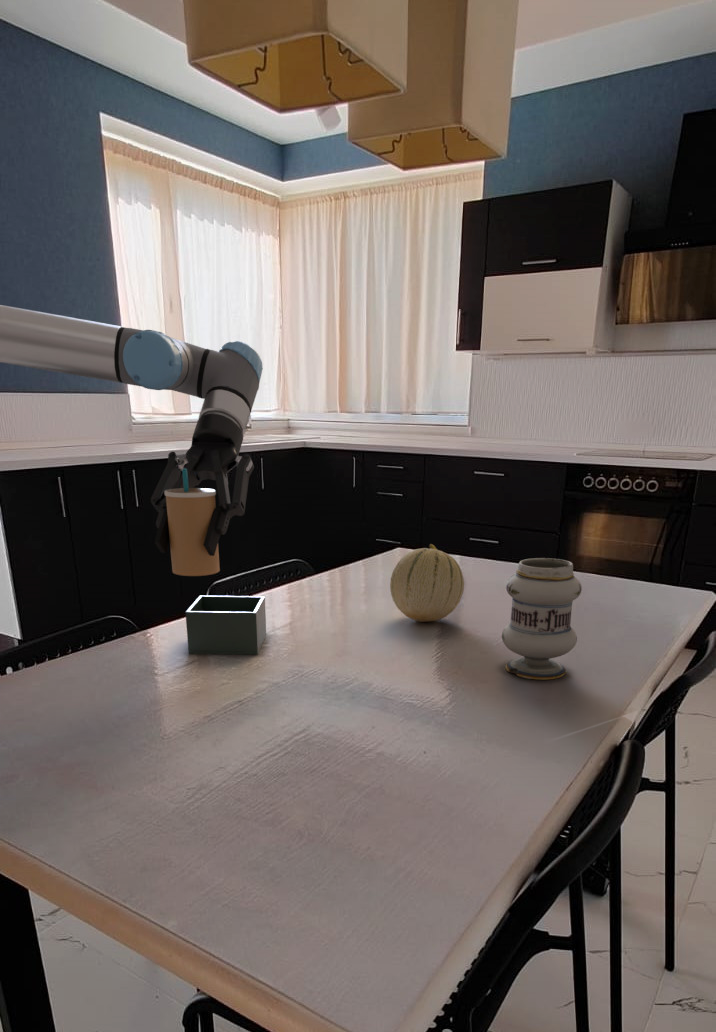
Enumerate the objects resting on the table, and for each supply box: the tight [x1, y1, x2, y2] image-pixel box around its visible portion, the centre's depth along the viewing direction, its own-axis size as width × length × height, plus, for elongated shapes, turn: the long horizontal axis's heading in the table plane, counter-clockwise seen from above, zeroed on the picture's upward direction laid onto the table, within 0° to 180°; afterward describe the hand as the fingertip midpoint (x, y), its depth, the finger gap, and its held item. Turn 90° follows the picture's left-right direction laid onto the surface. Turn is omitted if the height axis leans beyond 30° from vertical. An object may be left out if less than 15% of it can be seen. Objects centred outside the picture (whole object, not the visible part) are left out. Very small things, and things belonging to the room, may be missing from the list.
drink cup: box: [164, 467, 221, 577], centre depth 116 cm, size 8×8×15 cm
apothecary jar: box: [501, 557, 583, 681], centre depth 125 cm, size 12×12×18 cm
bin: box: [185, 595, 267, 656], centre depth 139 cm, size 12×12×8 cm
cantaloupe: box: [389, 543, 465, 623], centre depth 155 cm, size 15×15×15 cm
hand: (184, 548), depth 115 cm, fingers closed on drink cup, 7 cm apart
